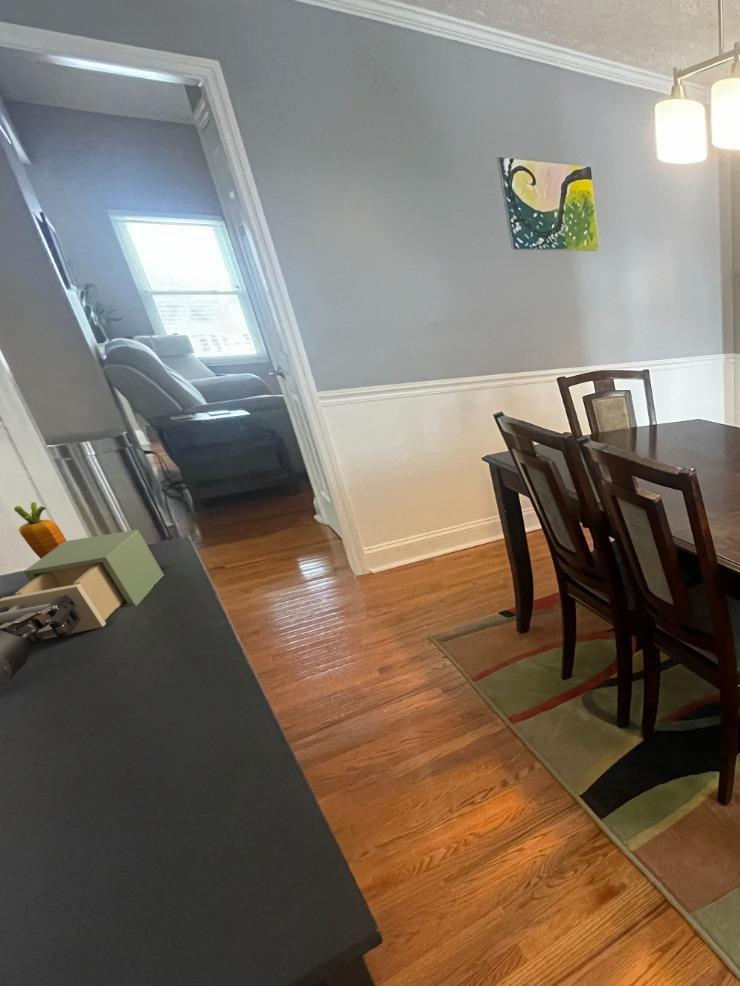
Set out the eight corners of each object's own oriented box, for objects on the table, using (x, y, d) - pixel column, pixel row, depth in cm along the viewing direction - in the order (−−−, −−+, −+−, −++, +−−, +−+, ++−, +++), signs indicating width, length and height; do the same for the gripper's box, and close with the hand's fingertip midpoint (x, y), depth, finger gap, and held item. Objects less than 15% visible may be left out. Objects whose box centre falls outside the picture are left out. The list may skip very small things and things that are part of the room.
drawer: (89, 645, 90) (59, 601, 86) (10, 662, 87) (-25, 617, 83) (135, 596, 103) (111, 556, 99) (68, 609, 100) (40, 568, 96)
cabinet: (136, 606, 102) (105, 557, 97) (58, 622, 98) (22, 571, 94) (164, 575, 112) (138, 529, 107) (95, 588, 108) (64, 541, 104)
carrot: (76, 570, 116) (29, 498, 109) (95, 571, 115) (49, 499, 108) (44, 582, 111) (-7, 508, 104) (64, 584, 110) (14, 509, 103)
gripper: (23, 630, 75) (86, 573, 89) (-139, 664, 70) (-46, 597, 84) (59, 676, 79) (114, 614, 92) (-93, 711, 74) (-12, 640, 87)
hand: (37, 606), depth 88 cm, fingers closed on drawer, 6 cm apart
